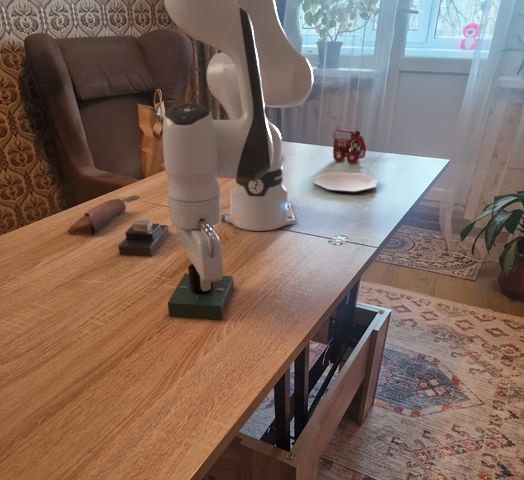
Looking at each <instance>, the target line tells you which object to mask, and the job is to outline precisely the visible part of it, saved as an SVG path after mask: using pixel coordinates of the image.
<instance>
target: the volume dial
mask: <svg viewBox="0 0 524 480" xmlns="http://www.w3.org/2000/svg"><path fill="white" fill-rule="evenodd" d="M187 270H188V271H187V272H188V274H189V282H190V290H191V291H192V292H193V293H196V294H205V293H209V292H211V291H212V290H213V282H211V289H210V290H207V291H202V289H201V287H200V283H199V279H200V275H199V274H198V272H197V270H196V268H195V267H194V265H193V264H191V263H190V264H189V265H188V266H187Z"/></svg>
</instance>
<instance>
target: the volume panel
mask: <svg viewBox="0 0 524 480" xmlns="http://www.w3.org/2000/svg"><path fill="white" fill-rule="evenodd" d="M234 285H235V284H234V276H233V275H232V276H231V275H223V278H222V280H219V281H214V282H213V290H212V291H211V292H209V293H205V294H196V293H193V292H192V291H191V290H190V282H189V273H184V274H183V276H182V277H181V279H180V281H179V282H178V284H177V286H176V287H175V289H174V291H173V292H172V295H171V296H170V298H169V300H168V301H167V309H168V316H169V317H170V318H184V319H198V320H199V319H200V320H214V321H215V320H216V321H223V318H224V316H225V313H226V311H227V308H228V305H229V303H230V300H231V297H232V295H233V292H234V290H235V288H234V287H235V286H234Z"/></svg>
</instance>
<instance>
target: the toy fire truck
mask: <svg viewBox="0 0 524 480" xmlns="http://www.w3.org/2000/svg"><path fill="white" fill-rule="evenodd" d="M332 136H333V148H332V155H333V156H332V157H333V160H334V161H335V162H338V163H340V162H343V161H344V159H346V160H347V162H348V163H349V164H355V163H357V161H358V160H359V159H365V157H366V152H367V146H366V143H365V140H364V137H363V136H362V135H361V132H360V131H359V130H355V131H353V130H346V129H345V130H344V129H335V130H333V134H332Z"/></svg>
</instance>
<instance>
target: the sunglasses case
mask: <svg viewBox="0 0 524 480" xmlns="http://www.w3.org/2000/svg"><path fill="white" fill-rule="evenodd" d="M126 210H127V207H126V204H125V202H124V201H123V200H122V199H120V198H115V199H111V200H106V201H104V202H102V203H100V204H98V205H96V206H95V207H93V208H91V209H89V210H88V211H86V212H85V213H84V215H83V216H82V217H80V218H79V219H78V220H76V221H74V223H73V224H72V225H70V226H69V228H68V229H67V233H69V234H72V235H75V236H85V237H93V236H95V234H97V233H98V232H99V231H100V230H102V229H103V227H104V226H105V225H107V223H109V222H110V221H112V220H113V219H114V218H115V217H117V216H119V214H121V213H123V212H125V211H126Z"/></svg>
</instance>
